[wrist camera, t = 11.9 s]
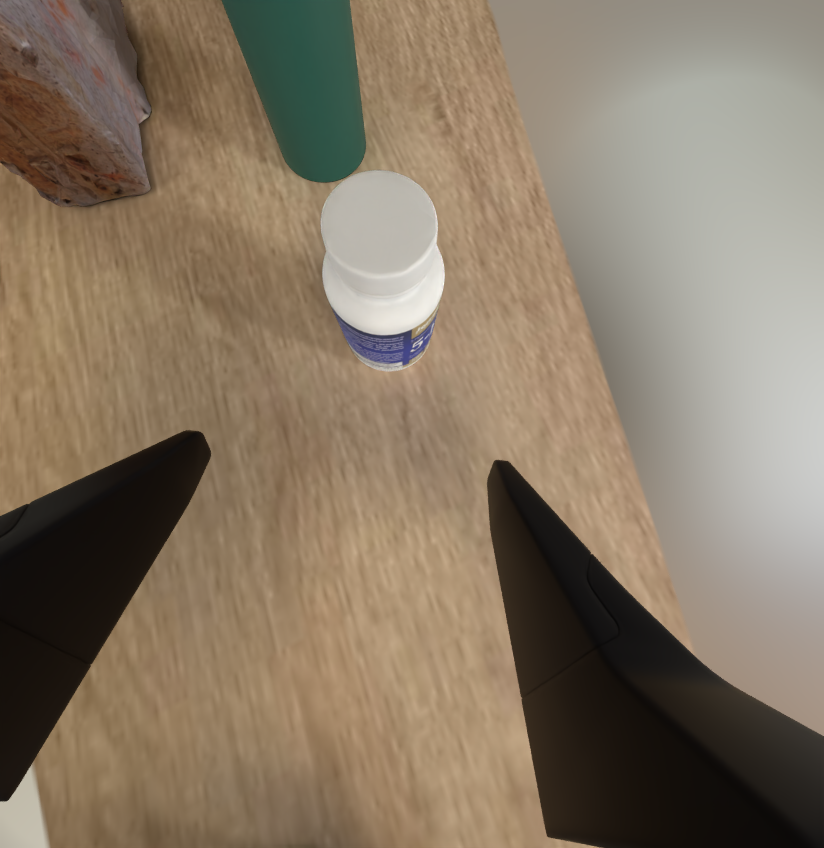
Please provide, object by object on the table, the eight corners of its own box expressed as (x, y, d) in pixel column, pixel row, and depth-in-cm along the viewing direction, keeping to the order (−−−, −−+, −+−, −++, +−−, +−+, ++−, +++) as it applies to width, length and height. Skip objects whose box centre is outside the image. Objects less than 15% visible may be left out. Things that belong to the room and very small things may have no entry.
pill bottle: (424, 379, 19) (444, 310, 10) (340, 365, 19) (284, 283, 10) (437, 299, 19) (467, 165, 10) (355, 285, 19) (316, 138, 10)
